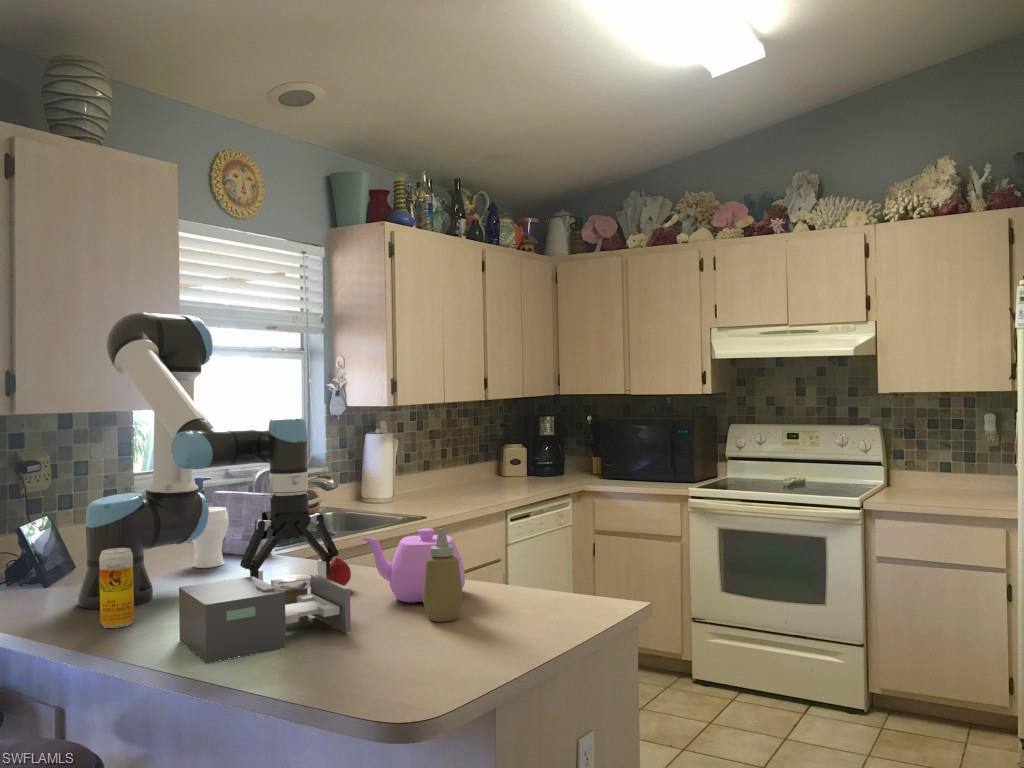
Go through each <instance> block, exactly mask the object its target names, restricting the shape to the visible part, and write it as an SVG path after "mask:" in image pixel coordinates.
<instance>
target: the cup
mask: <svg viewBox="0 0 1024 768" xmlns="http://www.w3.org/2000/svg"><path fill="white" fill-rule="evenodd" d="M208 509H209V515H208V521H207V525H206V527H205V529H204V531H203V532H202V533H201V534H200V536H199V537H198V538H196V539H194V540H191V541H192V543H193V549H194V556H193V564H192V566H193V567H194V568H200V569H205V568H207V569H208V568H215V567H219V566H222V565H224V563H225V562H224V557H223V553H222V551H221V550H222V541H223V539H224V537H225V535H226V533H227V529H228V525H229V524H228V514H227V510H226V508H225V507H213V506H208Z"/></svg>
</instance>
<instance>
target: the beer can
mask: <svg viewBox="0 0 1024 768" xmlns="http://www.w3.org/2000/svg"><path fill="white" fill-rule="evenodd" d="M99 569H100V609H99V610H100V611H99V613H100V614H99V616H100V618H99V620H100V621H99V622H100V623H99V624H100V625H101V626H102V627H103V628H104V629H106V628H117V629H119V628H118V627H123V628H125V627H124V626H126V627H129V626H131V625H130V624H132V623H133V621H134V620H135V609H134V608H135V605H134V594H133V554H132V552H131V549H130V548H113V549H107V550H103V551H102V552H101V555H100V557H99ZM128 625H129V626H128Z"/></svg>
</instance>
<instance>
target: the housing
mask: <svg viewBox="0 0 1024 768" xmlns="http://www.w3.org/2000/svg"><path fill="white" fill-rule="evenodd" d="M178 609H179V611H178V614H179V616H178V619H179V621H178V623H179V642H180V641H181V642H180V643H181V644H183V645H184V646H185V645H186V646H187V647H188V650H190V651H191V652H192V651H193V652H194V653H195V654H194V653H193V652H192V653H193V654H194V655H196V656H197V657H198V656H199V657H200V658H201V659H202V660H201V659H200V658H199V657H198V658H199V659H200V660H201V661H202V662H204V663H205V664H206V663H208V664H211V663H210V662H213V663H216V662H215V661H218V662H220V661H219V660H223V661H225V660H224V659H228V658H233V659H235V658H234V657H238V656H243V657H245V656H244V655H248V656H251V654H253V655H256V654H257V653H258V654H262V653H263V654H264V653H267V651H268V652H271V651H272V652H273V651H276V650H277V649H278V650H281V649H282V648H283V649H286V648H287V635H286V633H287V631H286V628H287V627H286V626H287V624H286V620H285V592H284V591H282V590H280V589H278V588H276V587H274V586H272V585H271V583H267V582H265V581H264V580H263V581H262V580H260V579H258V578H256V577H254V576H252V577H250V576H245V577H238V578H233V579H226V580H218V581H212V582H205V583H199V584H198V583H197V584H192V585H191V584H190V585H185V586H184V585H183V586H179V587H178ZM186 646H185V647H186ZM187 647H186V648H187ZM278 650H277V651H278ZM238 658H239V657H238ZM228 660H229V659H228Z"/></svg>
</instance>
